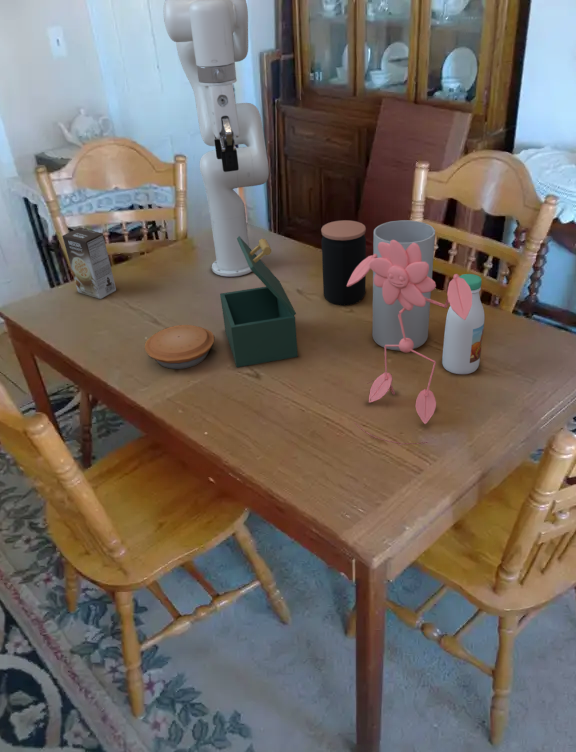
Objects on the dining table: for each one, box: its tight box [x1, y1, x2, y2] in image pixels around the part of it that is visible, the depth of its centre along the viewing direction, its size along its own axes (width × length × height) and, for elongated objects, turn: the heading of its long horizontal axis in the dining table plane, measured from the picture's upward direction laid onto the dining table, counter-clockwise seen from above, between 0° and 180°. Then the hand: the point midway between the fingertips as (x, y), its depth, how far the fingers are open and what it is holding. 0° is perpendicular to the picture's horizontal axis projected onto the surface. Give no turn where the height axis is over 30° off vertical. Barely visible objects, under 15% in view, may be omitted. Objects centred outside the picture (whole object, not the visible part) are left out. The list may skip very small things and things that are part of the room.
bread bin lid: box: [237, 236, 297, 316], centre depth 141 cm, size 15×17×5 cm
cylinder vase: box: [371, 219, 436, 352], centre depth 143 cm, size 12×12×25 cm
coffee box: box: [61, 227, 117, 300], centre depth 173 cm, size 9×6×16 cm
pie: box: [144, 324, 215, 370], centre depth 147 cm, size 15×16×5 cm
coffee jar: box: [320, 219, 367, 307], centre depth 162 cm, size 11×11×18 cm
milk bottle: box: [441, 273, 486, 375], centre depth 134 cm, size 8×8×20 cm
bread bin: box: [219, 286, 299, 368], centre depth 148 cm, size 14×17×10 cm
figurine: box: [347, 240, 472, 446], centre depth 116 cm, size 15×26×35 cm, turn 48°
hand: (227, 164), depth 140 cm, fingers open, 9 cm apart
